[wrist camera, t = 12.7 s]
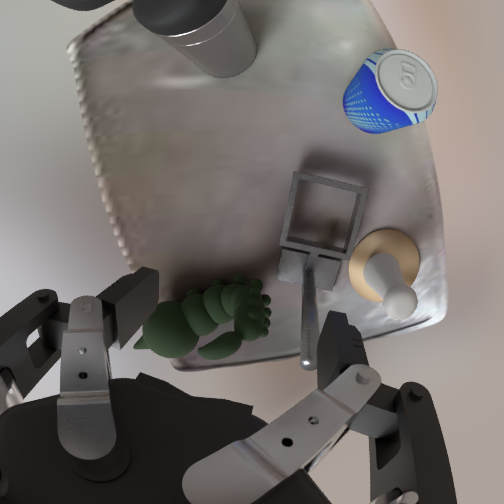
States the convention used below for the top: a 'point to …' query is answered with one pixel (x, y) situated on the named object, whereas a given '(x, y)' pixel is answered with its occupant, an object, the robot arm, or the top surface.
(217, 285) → the toy figurine
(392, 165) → the top surface
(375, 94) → the beer can
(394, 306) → the salt shaker
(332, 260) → the ring stand
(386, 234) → the disc
